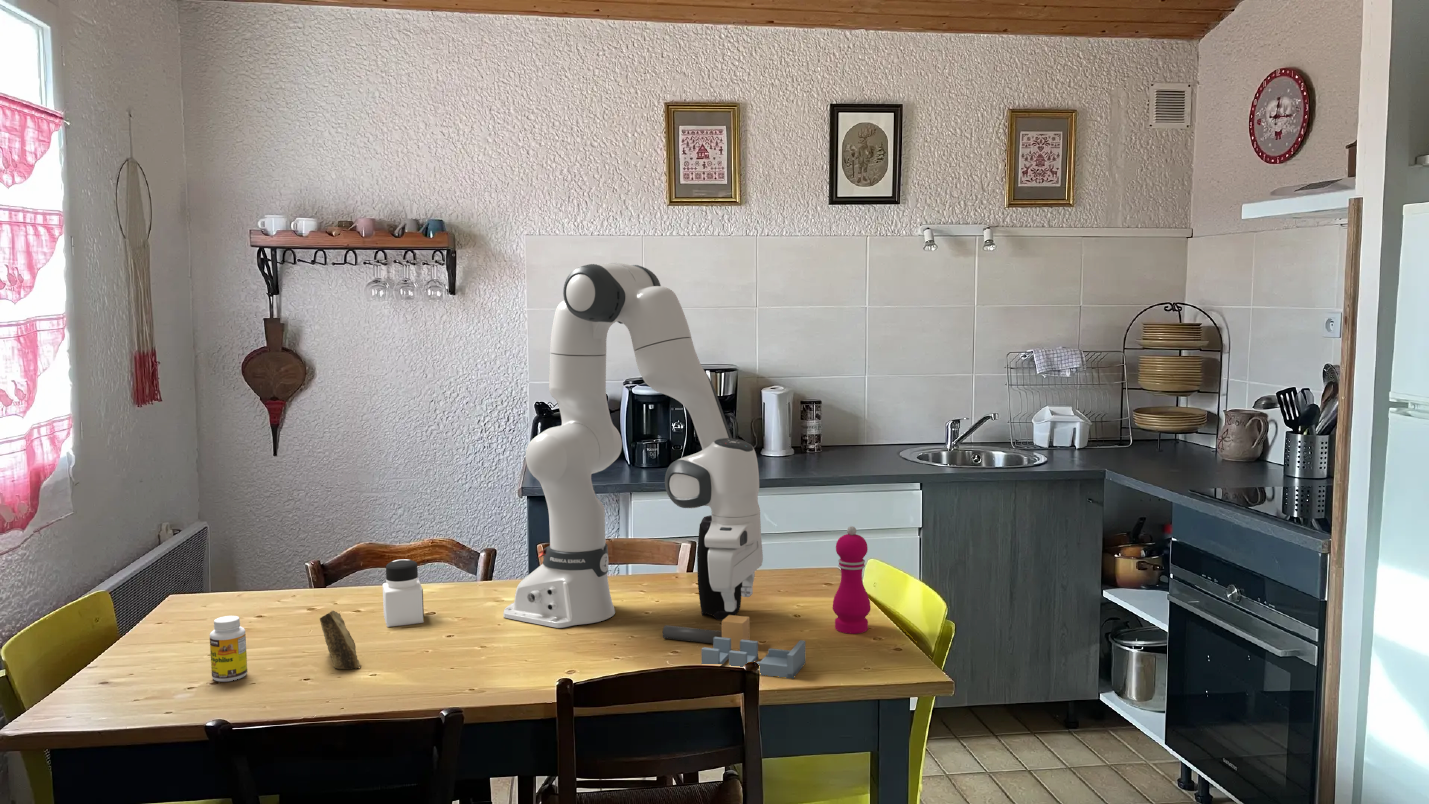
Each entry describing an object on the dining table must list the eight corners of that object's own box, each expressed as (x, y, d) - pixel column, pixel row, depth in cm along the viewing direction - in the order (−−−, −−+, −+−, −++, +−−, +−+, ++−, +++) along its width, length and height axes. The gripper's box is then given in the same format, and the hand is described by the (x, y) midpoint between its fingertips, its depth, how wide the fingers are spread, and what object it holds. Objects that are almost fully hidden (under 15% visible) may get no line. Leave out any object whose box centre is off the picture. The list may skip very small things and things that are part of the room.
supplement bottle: (204, 682, 178) (201, 623, 177) (225, 670, 183) (221, 613, 182) (235, 683, 177) (231, 624, 176) (254, 672, 182) (251, 614, 181)
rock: (315, 639, 193) (294, 650, 183) (343, 600, 193) (325, 609, 183) (362, 674, 193) (345, 687, 183) (391, 635, 193) (375, 646, 183)
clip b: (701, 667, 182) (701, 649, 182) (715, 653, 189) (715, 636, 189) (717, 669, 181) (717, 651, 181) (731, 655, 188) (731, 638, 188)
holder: (753, 674, 179) (753, 651, 178) (767, 658, 186) (766, 636, 186) (793, 678, 176) (793, 655, 176) (805, 663, 184) (805, 640, 183)
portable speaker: (750, 611, 214) (750, 516, 212) (724, 624, 206) (724, 525, 204) (715, 605, 219) (714, 512, 217) (689, 616, 211) (688, 520, 209)
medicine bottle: (424, 623, 209) (421, 563, 208) (386, 627, 206) (384, 567, 205) (420, 613, 215) (417, 555, 214) (383, 617, 213) (381, 559, 212)
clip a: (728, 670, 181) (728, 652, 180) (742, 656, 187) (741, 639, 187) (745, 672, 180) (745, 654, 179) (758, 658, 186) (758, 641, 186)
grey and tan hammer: (661, 641, 196) (660, 615, 196) (669, 634, 200) (668, 609, 200) (742, 650, 191) (742, 623, 190) (749, 643, 195) (749, 616, 194)
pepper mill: (869, 635, 198) (869, 531, 196) (830, 633, 199) (830, 529, 197) (871, 624, 205) (872, 522, 203) (834, 622, 207) (834, 521, 204)
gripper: (738, 516, 202) (740, 587, 203) (700, 540, 183) (703, 618, 184) (769, 517, 200) (771, 589, 201) (735, 541, 181) (738, 620, 182)
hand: (739, 603), depth 192 cm, fingers open, 8 cm apart
